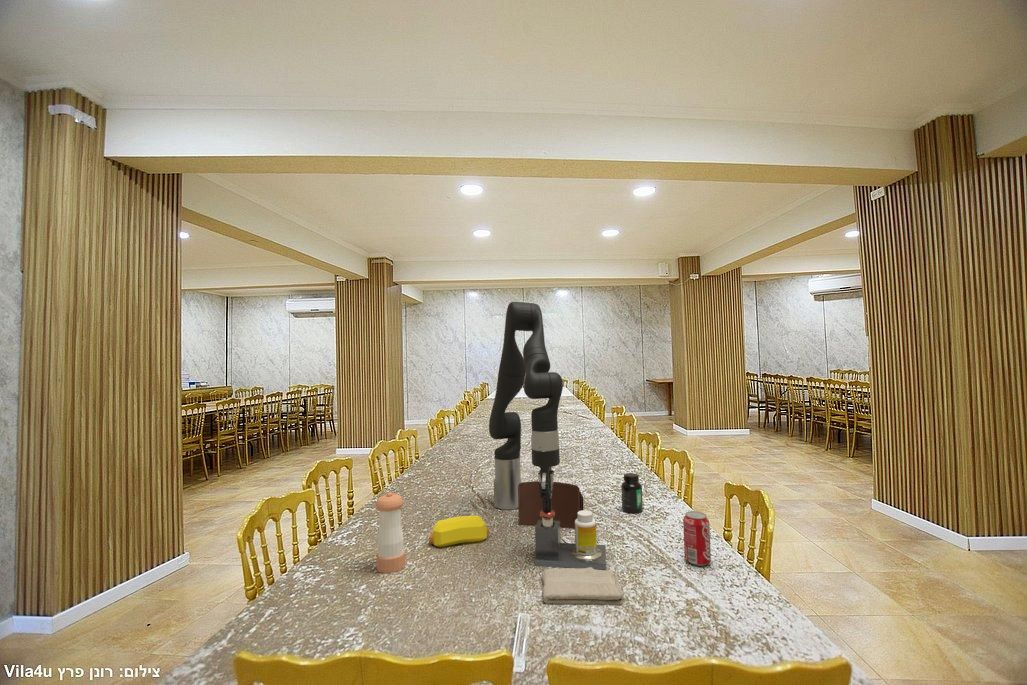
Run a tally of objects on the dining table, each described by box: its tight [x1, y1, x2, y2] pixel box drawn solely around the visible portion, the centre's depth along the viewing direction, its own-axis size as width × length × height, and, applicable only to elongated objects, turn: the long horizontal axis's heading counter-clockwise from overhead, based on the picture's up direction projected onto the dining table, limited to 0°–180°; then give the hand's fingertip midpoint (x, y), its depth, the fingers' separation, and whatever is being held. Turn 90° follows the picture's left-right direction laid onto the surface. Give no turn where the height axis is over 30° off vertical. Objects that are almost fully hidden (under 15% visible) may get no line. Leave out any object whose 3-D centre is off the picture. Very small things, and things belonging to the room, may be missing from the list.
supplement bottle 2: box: [620, 472, 644, 515], centre depth 153 cm, size 7×7×12 cm
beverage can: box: [682, 510, 712, 567], centre depth 115 cm, size 6×6×12 cm
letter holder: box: [517, 480, 585, 530], centre depth 146 cm, size 10×20×14 cm, turn 75°
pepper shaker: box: [375, 491, 406, 574], centre depth 118 cm, size 7×7×19 cm
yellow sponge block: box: [428, 514, 490, 548], centre depth 133 cm, size 18×7×8 cm
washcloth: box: [541, 567, 625, 606], centre depth 103 cm, size 12×18×3 cm, turn 87°
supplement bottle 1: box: [574, 509, 598, 556], centre depth 119 cm, size 6×6×10 cm
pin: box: [540, 510, 555, 527], centre depth 121 cm, size 4×4×8 cm
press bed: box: [533, 520, 607, 571], centre depth 119 cm, size 18×11×8 cm, turn 79°
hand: (547, 511), depth 121 cm, fingers closed
